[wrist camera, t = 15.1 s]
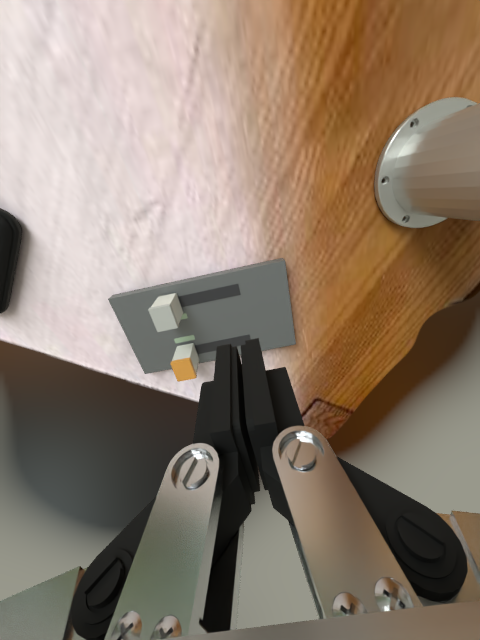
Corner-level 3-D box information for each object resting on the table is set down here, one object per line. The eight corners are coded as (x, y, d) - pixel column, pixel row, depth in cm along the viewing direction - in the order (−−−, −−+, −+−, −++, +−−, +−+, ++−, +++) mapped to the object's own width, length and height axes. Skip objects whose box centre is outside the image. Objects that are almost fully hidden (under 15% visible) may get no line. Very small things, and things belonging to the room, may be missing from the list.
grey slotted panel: (282, 257, 33) (285, 260, 32) (293, 339, 39) (295, 344, 38) (112, 295, 35) (108, 299, 33) (147, 367, 40) (144, 374, 39)
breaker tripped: (193, 342, 36) (189, 360, 32) (199, 359, 38) (196, 378, 34) (176, 346, 36) (170, 363, 33) (183, 362, 38) (177, 381, 34)
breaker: (176, 292, 33) (169, 305, 29) (183, 313, 34) (177, 328, 30) (157, 296, 33) (148, 309, 29) (165, 316, 34) (157, 332, 30)
